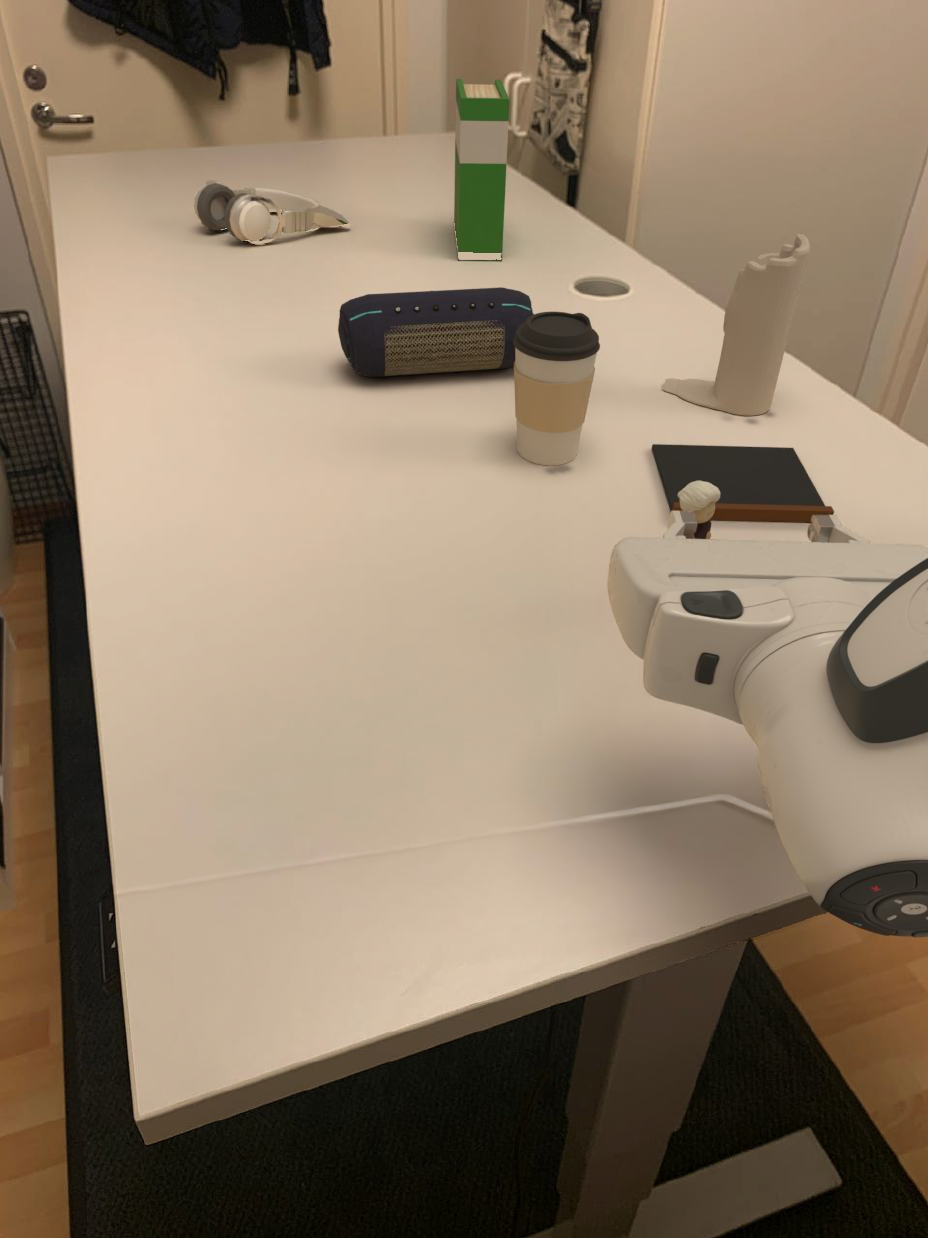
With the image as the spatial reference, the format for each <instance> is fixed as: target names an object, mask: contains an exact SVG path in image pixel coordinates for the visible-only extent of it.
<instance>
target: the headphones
mask: <svg viewBox="0 0 928 1238" xmlns="http://www.w3.org/2000/svg"><path fill="white" fill-rule="evenodd" d="M193 209H194V213H195V215H196V217H197V219H198V220H199V222H200V223H201V224H202V225H203V226H204V227H206V228H207V229H208V230H213V231H215V230H221V229H225V228H227V229H228V230H227V231H228V232H229V234H230V235H231V236H232V237H233V238H235V239H236V240H238V239H239V240H238V241H241V242H243V241H245V240H250V241H251V242H253V241H257V240H260V239H261V240H263V239H265V237H266V236H267V235H268V233H269V230H270V229H271V224H272V217H271V212H269V209H275V210H276V211H277V213H276V214H277V217H278V224H277V228H276V231H275V232H274V233H273V234H272V235H271V236H270V237H271V239H275V240H277V239H278V237H280V236H281V234H282V233H283V234H294V233H301V232H305V231H308V230H310V229H315V228H320V229H321V228H330V227H329V226H338V225H344V224H348V223H350V222H349V221H348V220H347V219H346V217H344V216H343V214H341V213H338V212H337V211H334V210H333V209H330V208H328V207H325V206H322V205H321V203H320V202H319V201H317V200H316V199H314V198H311V197H308V196H305V195H302V194H298V193H295V192H291V191H287V190H286V191H285V190H280V189H273V188H265V187H264V188H261V187H244V188H243V189H231V188H230V187H228V186H227V185H224V184H223V182H220V181H217V180H212V179H209V180H207V181H205V185H203V186H201V187H199V189H198V190H197V191H196V193H195V195H194V197H193ZM280 209H281V210H282V214H281V211H280ZM220 232H223V231H220ZM264 245H266V244H255V246H264Z"/></svg>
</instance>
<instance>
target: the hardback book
mask: <svg viewBox="0 0 928 1238" xmlns="http://www.w3.org/2000/svg"><path fill="white" fill-rule="evenodd" d="M510 100H511V99H510V96H509V95H508V93H507V91H506V88H505V86H504V84H503V82H502V80H501V79H496V78H495V79H494V84H482V83H481V84H479V83H478V84H477V83H464V82H463V79H462V78H456V79H455V128H454V129H455V134H454V135H455V136H454V200H453V201H454V202H453V204H454V207H453V208H454V209H453V224H454V223H455V231H456V238H457V246H458V252H473V253H502V254H503V248H504V226H505V225H504V224H505V207H506V206H505V203H506V185H507V184H506V183H507V163H508V143H509V141H508V139H509V122H510V121H509V119H510V102H511V101H510ZM496 260H497V259H496ZM496 260H494V261H493V262H503V258H502V259H501V260H497V261H496Z"/></svg>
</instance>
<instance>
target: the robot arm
mask: <svg viewBox="0 0 928 1238" xmlns="http://www.w3.org/2000/svg"><path fill="white" fill-rule="evenodd" d="M694 515H695V513H694V512H693V511H671V510H670V514H669V518H668V523H667V530H666V531H665V532H664V534H663V535H662V537H640V536H626V537H624V538H622V539H621V540H619V541H618V542H617V543H616V544H614V546H613V548H612V549H611V554H610V559H609V564H608V573H607V583H606V585H607V586H606V587H607V594H608V600H609V603H610V607H611V611H612V614H613V617H614V619H615V622H616V626H617V628H618V631H619V633H620V636H621V638H622V640H623V641H624V643H625V645H626V646H627V647H628V649H629V651H631V652H632V653H633V654H634V655H635V656H636V657H638V658H640V659H641V660H643V667H642V668H643V672H642V683H643V687H644V690H645V692H646V693H647V694H648V695H649V696H651V697H653V698H655V699H658V700H662V701H665V702H670V703H673V704H678V705H680V706H681V705H682V706H686V707H689V708H693V709H696V710H700V711H703V712H707V713H710V714H713V715H716V716H717V717H722V718H724V719H726V720H729V721H731V722H734V723H736V724H738V725H742V726H743V728H744V730H745V731H746V733H747V735H748V736H749V737H750V739H751V740H752V742H754V743H755V745H756V746H757V749H758V753H757V770H758V777H759V781H760V785H761V788H762V791H763V793H764V797H765V800H766V803H767V806H768V809H769V812H770V815H771V818H772V820H773V823H774V825H775V828H776V830H777V833H778V836H779V838H780V841H781V843H782V846H783V848H784V850H785V853H786V855H787V856H788V858H789V861H790V862H791V864H792V866H793V868H794V870H795V872H796V875H797V876H798V878H799V880H800V882H801V883H802V885H803V886H804V888H805V889H806V891H807V892H808V894H809V895H810V897H811V898H812V900H813V901H814V902H815V903H816V904H817V905H818V906H819V907H820V908H821V909H823V910H824V911H826V912H827V913H828V914H830V915H832V916H833V917H836V918H838V919H839V920H841V921H843V922H845V923H847V924H849V925H851V926H854V927H856V928H858V929H861V930H864V931H867V932H870V933H872V934H877V935H881V936H886V937H889V936H892V937H912V938H914V939H915V938H928V547H926V546H924V545H921V544H903V543H902V544H901V543H900V544H899V543H872V542H871V541H870V540H869V539H868V538H866V537H865V536H862V535H861V534H858V533H857V532H855V531H853V530H851V529H850V528H847V527H846V526H843V525H842V523H841V521H840V519H839V518H838V516H837V515H836V514H833V515H813V516H812V517H811V522H810V524H809V525H808V527H807V533H806V534H807V539H808V540H809V541H790V540H789V541H788V540H748V539H717V538H716V539H714V538H713V539H711V538H710V539H694V538H695V537H694V533H695V532H696V529H697V524H698V522H697V519H696V517H694Z"/></svg>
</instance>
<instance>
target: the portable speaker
mask: <svg viewBox="0 0 928 1238" xmlns="http://www.w3.org/2000/svg"><path fill="white" fill-rule="evenodd" d="M534 314H535V313H534V312H533V306H532V300H531V298H530V295H528V294H527V293H524V292H522V291H521V290H516V289H511V288H506V287H483V288H482V287H480V288H461V289H443V290H442V289H441V290H424V291H406V292H405V291H404V292H384V293H368V294H364V295H360V296H358V297H355V298H350V299H349V300H347V301H346V302H344V303H342V304H341V305H340V308H339V316H338V317H339V318H338V324H337V332H338V337H339V338H338V339H339V343H340V347H341V349H342V352H343V354H344V356H345V358H346V360H347V361H348V363H349V364H350V366H351V368H352V370H353V371H354V372H355V373H357V374H359V375H362V376H364V377H369V378H382V377H395V376H396V377H397V376H398V377H399V376H411V375H427V374H441V373H455V372H470V371H471V372H472V371H486V370H505V369H510V368H514V362H515V361H516V358H515V346H514V344H513V339H514V337H515V336H516V331H517V329H518V328H519V327H520V326H521V325H522V324H523V323H525V322H526V321H527V319H528V318H529V317H530V316H532V315H534Z"/></svg>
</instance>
